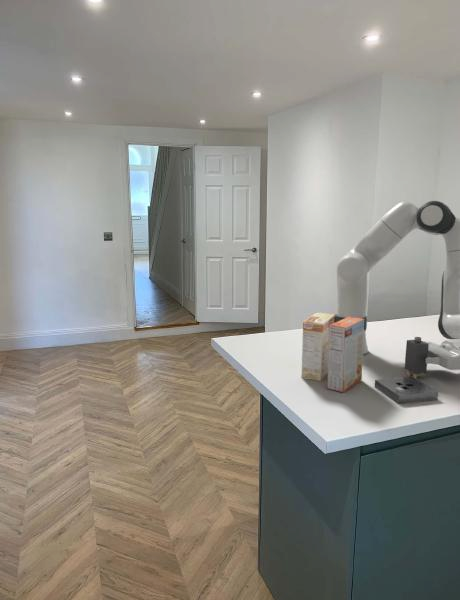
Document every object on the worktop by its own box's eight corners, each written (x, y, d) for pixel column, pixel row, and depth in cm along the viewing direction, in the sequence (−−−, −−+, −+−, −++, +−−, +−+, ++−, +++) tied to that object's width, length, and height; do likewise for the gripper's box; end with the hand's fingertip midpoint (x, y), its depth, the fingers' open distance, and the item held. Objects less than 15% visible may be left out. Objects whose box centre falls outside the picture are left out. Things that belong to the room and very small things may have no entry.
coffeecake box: (313, 364, 166) (315, 312, 162) (333, 367, 163) (335, 314, 159) (300, 378, 153) (302, 321, 149) (321, 381, 150) (323, 323, 146)
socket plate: (374, 387, 145) (375, 377, 144) (410, 383, 148) (411, 373, 147) (398, 403, 132) (399, 393, 132) (437, 399, 135) (438, 389, 135)
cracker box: (345, 376, 154) (348, 315, 150) (362, 380, 151) (366, 318, 147) (325, 388, 144) (328, 323, 140) (343, 393, 140) (346, 327, 136)
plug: (404, 374, 156) (407, 335, 154) (415, 373, 157) (418, 335, 155) (414, 379, 151) (417, 340, 148) (425, 378, 152) (429, 339, 149)
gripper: (432, 335, 165) (398, 338, 162) (474, 353, 146) (436, 356, 143) (431, 352, 167) (397, 355, 163) (472, 371, 147) (434, 375, 144)
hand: (415, 355), depth 153 cm, fingers open, 8 cm apart
